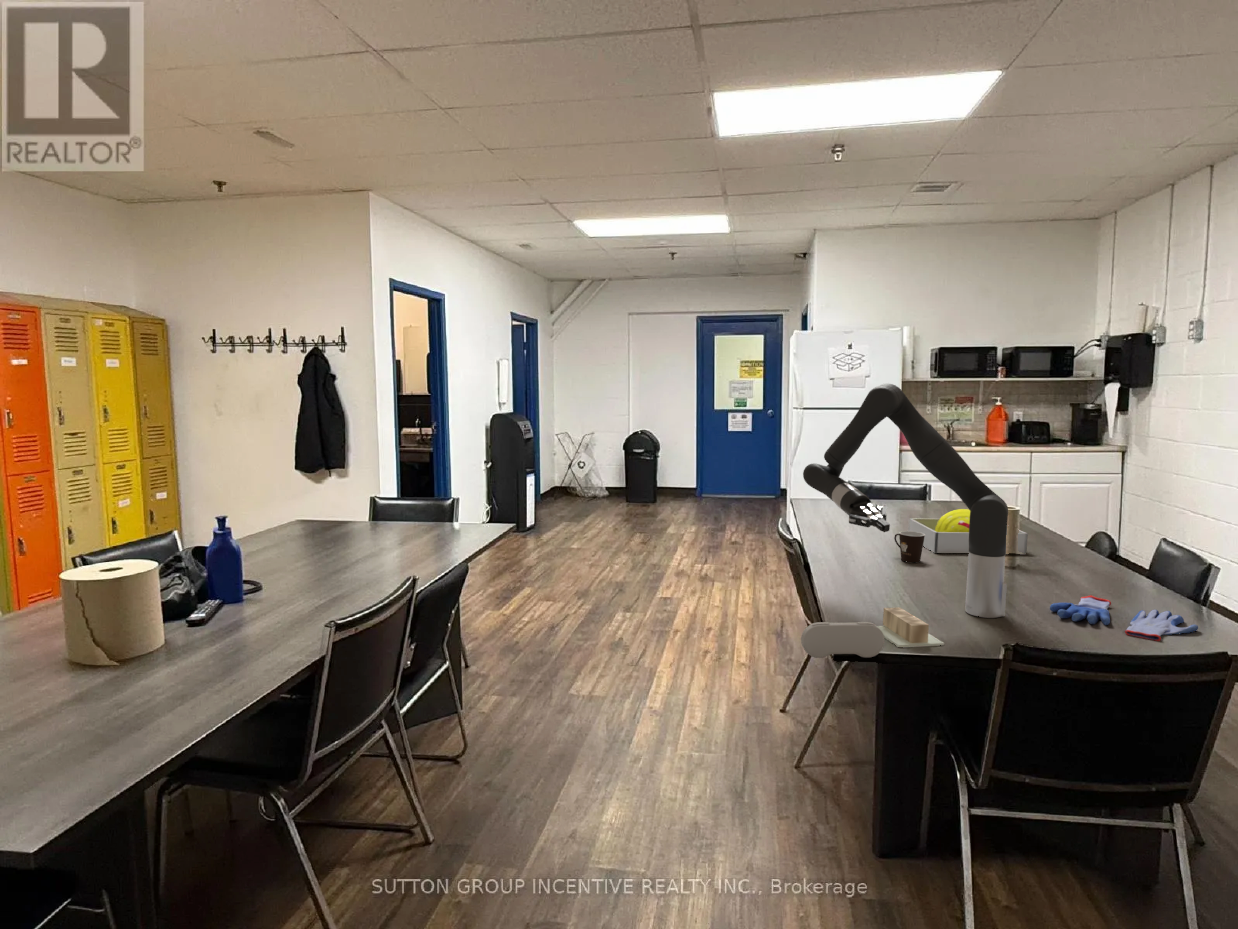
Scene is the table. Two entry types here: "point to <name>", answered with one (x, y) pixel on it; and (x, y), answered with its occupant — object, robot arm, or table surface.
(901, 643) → the felt mat
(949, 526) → the hard hat
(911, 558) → the coffee mug
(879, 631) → the game controller
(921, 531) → the grey crate
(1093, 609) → the pair of gloves
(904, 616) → the beech block
